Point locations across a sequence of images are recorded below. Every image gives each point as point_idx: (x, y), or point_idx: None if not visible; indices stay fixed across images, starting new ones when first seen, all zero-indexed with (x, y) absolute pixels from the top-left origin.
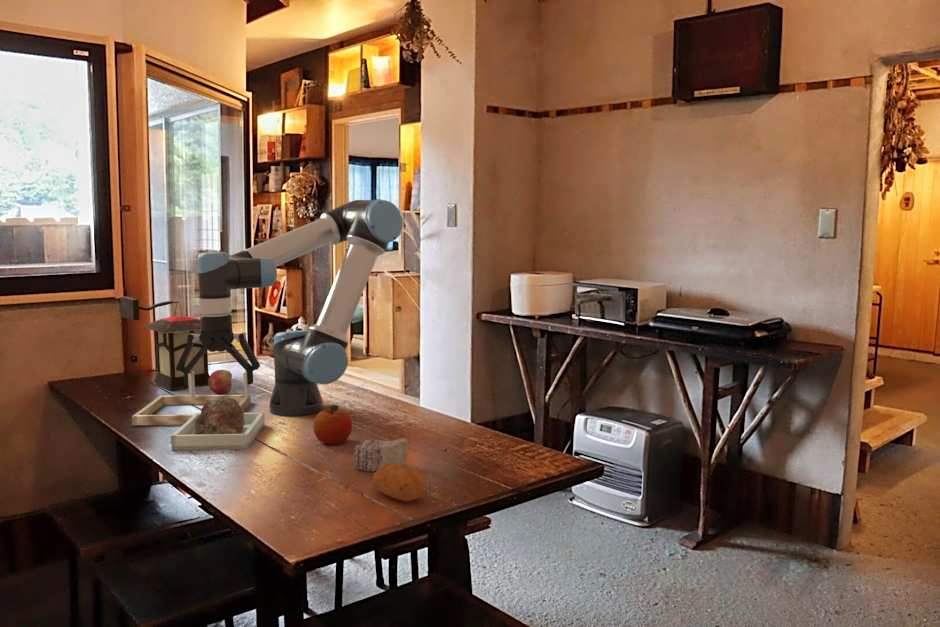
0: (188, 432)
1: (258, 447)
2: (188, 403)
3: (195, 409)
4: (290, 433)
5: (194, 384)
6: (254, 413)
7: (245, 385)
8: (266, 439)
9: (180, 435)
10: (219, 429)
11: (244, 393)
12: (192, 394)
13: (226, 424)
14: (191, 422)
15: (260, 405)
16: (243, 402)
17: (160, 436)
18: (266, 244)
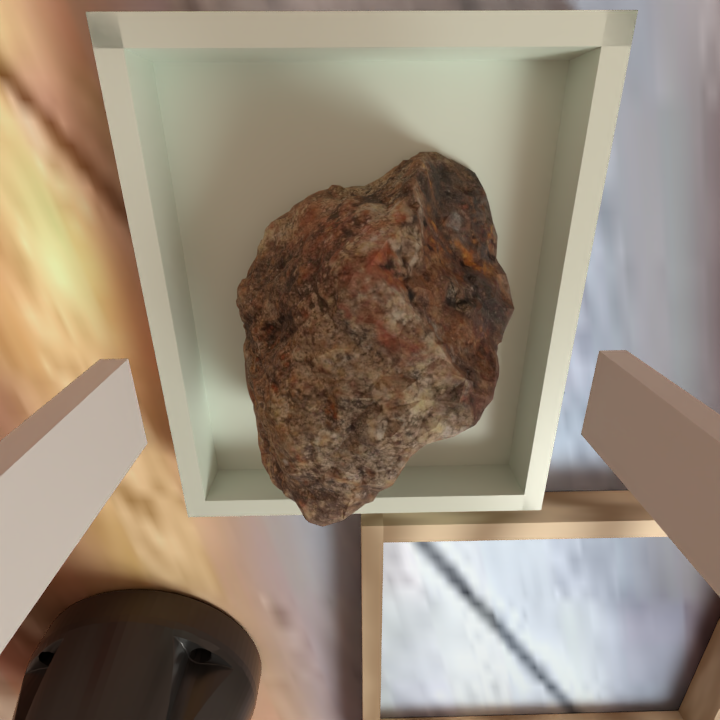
0: (535, 303)
1: (80, 74)
2: (589, 717)
3: (554, 666)
4: (22, 346)
5: (647, 499)
6: (233, 503)
7: (41, 424)
8: (102, 243)
9: (571, 23)
10: (338, 201)
11: (104, 378)
12: (619, 379)
13: (301, 241)
14: (540, 377)
15: (317, 703)
16: (363, 685)
17: (667, 319)
18: None
